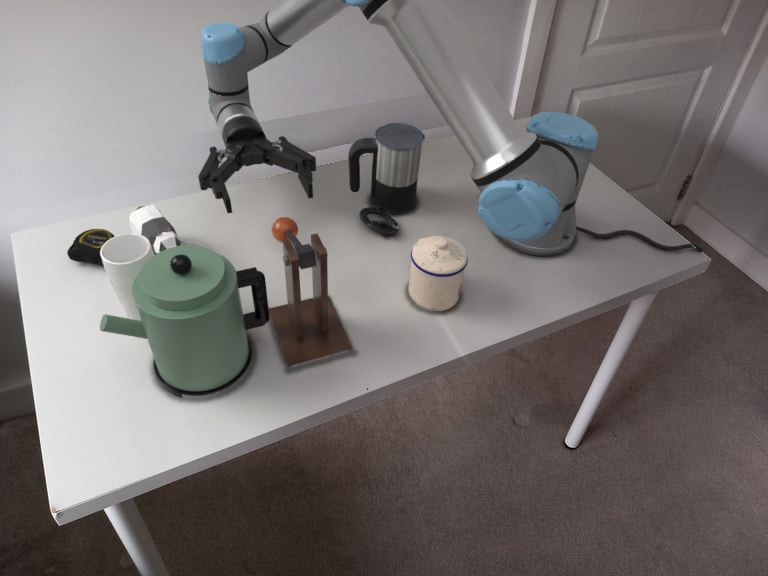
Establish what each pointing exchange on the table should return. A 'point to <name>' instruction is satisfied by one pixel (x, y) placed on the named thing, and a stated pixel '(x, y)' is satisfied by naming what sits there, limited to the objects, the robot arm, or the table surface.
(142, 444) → the table surface
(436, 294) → the teacup with lid
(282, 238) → the switch lever
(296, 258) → the switch base
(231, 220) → the table surface
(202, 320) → the kettle
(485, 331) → the table surface
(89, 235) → the tape measure
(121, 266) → the drinking glass
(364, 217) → the milk frother
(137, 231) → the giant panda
